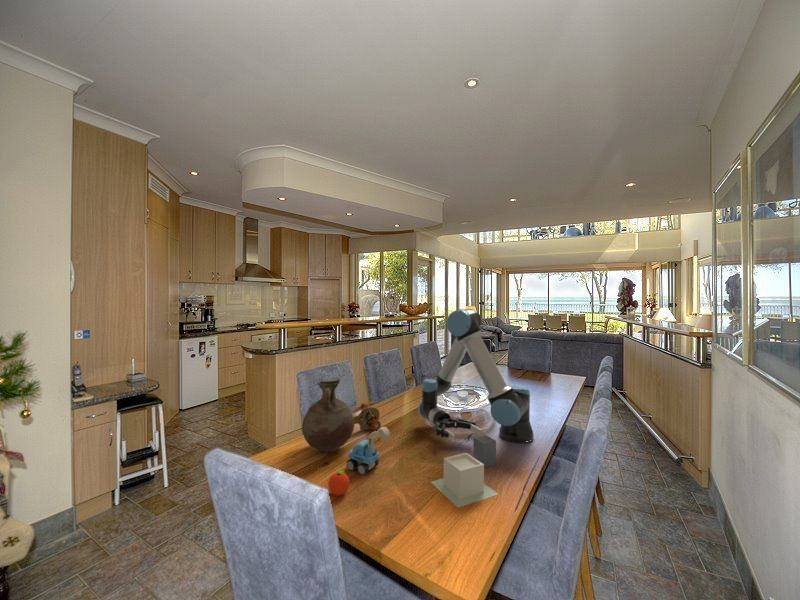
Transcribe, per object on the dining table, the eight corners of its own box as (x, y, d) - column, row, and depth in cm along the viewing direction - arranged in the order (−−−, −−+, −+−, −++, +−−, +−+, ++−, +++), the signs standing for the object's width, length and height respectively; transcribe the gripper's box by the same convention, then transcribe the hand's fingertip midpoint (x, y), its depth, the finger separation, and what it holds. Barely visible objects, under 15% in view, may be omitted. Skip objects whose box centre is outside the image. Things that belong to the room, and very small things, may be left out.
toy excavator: (380, 482, 121) (380, 433, 120) (344, 469, 130) (344, 424, 129) (393, 471, 128) (393, 425, 128) (358, 460, 137) (358, 417, 137)
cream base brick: (466, 477, 122) (466, 452, 122) (483, 491, 113) (484, 464, 113) (443, 484, 118) (443, 458, 117) (460, 499, 109) (460, 470, 109)
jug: (348, 435, 160) (348, 371, 160) (359, 456, 140) (359, 382, 140) (300, 442, 153) (300, 375, 152) (304, 465, 132) (304, 387, 132)
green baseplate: (467, 474, 126) (467, 471, 126) (498, 497, 112) (498, 494, 112) (430, 484, 119) (430, 481, 119) (457, 510, 105) (457, 507, 105)
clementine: (337, 484, 119) (337, 464, 119) (355, 489, 116) (355, 468, 116) (323, 497, 112) (323, 475, 111) (342, 502, 109) (342, 480, 109)
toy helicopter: (382, 429, 168) (382, 401, 168) (343, 439, 157) (343, 409, 157) (374, 424, 175) (374, 397, 175) (336, 432, 164) (336, 404, 163)
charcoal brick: (485, 459, 137) (485, 434, 137) (495, 466, 132) (496, 440, 132) (473, 463, 135) (473, 437, 135) (483, 470, 129) (483, 443, 129)
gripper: (461, 422, 167) (491, 439, 148) (416, 430, 156) (442, 450, 137) (461, 406, 167) (491, 422, 148) (416, 414, 156) (442, 431, 137)
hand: (467, 435), depth 142 cm, fingers open, 13 cm apart
